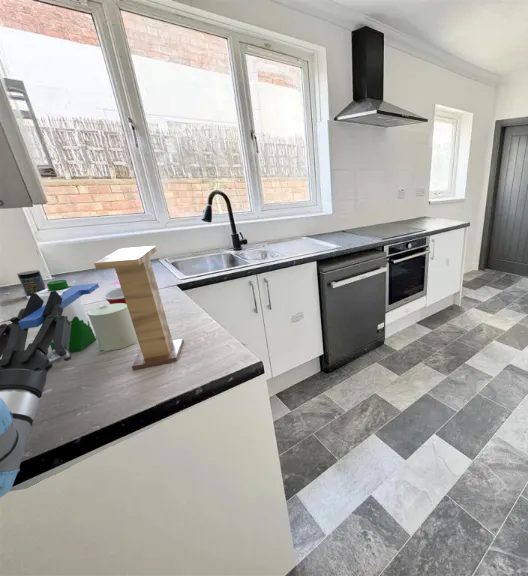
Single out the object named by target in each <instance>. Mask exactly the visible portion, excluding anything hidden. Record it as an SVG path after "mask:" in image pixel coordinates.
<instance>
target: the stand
mask: <svg viewBox="0 0 528 576" xmlns="http://www.w3.org/2000/svg"><path fill="white" fill-rule="evenodd" d="M156 252H157V246H156V245H150V246H149V245H148V246H147V245H146V246H136V247H135V246H134V247H123V248H118V249H117V250H115V251H113V252H111V253H109V254H107V255H106V256H103V257H102V258H100V259H99V260H97V261H95V262H94V263H93V264H94V267H95V270H105V269H113V268H114V269H115V272H116V273H117V276H118V277H117V279H119V282H120V286H119V287H121V289H122V292H123V295H124V298H125V301H126V304H127V308H128V311H129V314H130V317H131V320H132V323H133V326H134V330H135V333H136V336H137V339H138V340H137V342H138V345H139V348H140V351H139V353H138V355H137V357H136V358H135V360H134V362H133V363H132V365H131V369H132V371H136V370H141V369H146V368H151V367H156V366H161V365H164V364H170V363H176V362H178V359H179V357H180V354H181V351H182V348H183V345H184V343H185V342H184V341H185V340H184V338H179V339H173V336H172V334H171V331H170V325H169V323H168V318H167V316H166V311H165V308H164V304H163V301H162V298H161V297H162V296H161V295H160V290H159V287H158V282H157V280H156V276H155V272H154V268H153V265H152V261H151V257H152V256H153V255H154V254H155V253H156Z"/></svg>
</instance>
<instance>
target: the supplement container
mask: <svg viewBox="0 0 528 576" xmlns="http://www.w3.org/2000/svg"><path fill="white" fill-rule="evenodd" d="M16 275H17V278H18V280H19V282H20V285H21V287H22V289H23V291H24V293H25V296H26V297H28V296H31V294H33V293H37V292H40V291H42V290H45V289H48V287H47V285H46V284H45V281H44V279H43V277H42V273H41V271H40V270H39V269H36V270H26V271H22V272H19V273H16Z"/></svg>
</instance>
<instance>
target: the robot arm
mask: <svg viewBox="0 0 528 576" xmlns="http://www.w3.org/2000/svg"><path fill="white" fill-rule="evenodd" d="M62 300H63V299H62V298H61V296H60V295H59V294H58V293H57V292H56V291H51V293H50V295H49V298H48V301H47V303H46V306H45V309H44V311H43V314H42V315H43V316H44V317H45V318H46V319H45V321H44V322H43V324H41V325H40V328H39V330H38V332H37V333H36V335H35V337H34V338H33V340H32V341H31V343H28V345H27V347H26V344H27V340H28V335H29V329H30V328H27V329H21V327H20V325H19V323H18V322H19V321H20V320H22V319H23V318H25V317H27V316H28V315H30V314H32V313H33V312H35V311H36V310H38V309H40V308H41V307H42V305H43V303H44V301H43V300H42V299H41V298H40V297H39V296H38V295H37V294H36V293H33V294H31V296H30V298H29V300H28V301H27V303H26V305H25V307H24V308H21V309H20V310H19V311H18V314H17V316H13V317H11V318H10V319H9V322H10V323H2V324H0V499H1V498H3V497H4V496H6V495H7V494H9V492H10V491H11V489H12V488H13V485H14V483H15V480H16V477H17V475H18V473H19V472H20V470H21V468H20V466H21V462H22V460H23V456H24V452H25V449H26V446H27V442H28V439H29V436H30V433H31V430H32V426H33V423H34V420H35V417H36V415H37V410H38V407H39V405H40V401H41V400H40V399H41V398H42V395H43V393H44V389H45V387H46V384H47V375H48V373H49V371H50V370H51V369H52V368H53V366H54V364H57V363H58V362H60V361H64V362H68V361H70V360H71V359H72V357H73V356H72V354H71V352H69V351H68V350H69V341H70V331H71V323H70V321H69V320H68V319H67V318H66V317H65V316H62V313H63V308H62V307H61V303H62ZM53 338H54V343H53V347H54V350H52V349H51V354H50V356H49V357H48V354H49V348H50V347H51V346H50V344H51V342H52V340H53Z"/></svg>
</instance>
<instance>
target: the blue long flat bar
mask: <svg viewBox="0 0 528 576" xmlns="http://www.w3.org/2000/svg"><path fill="white" fill-rule="evenodd" d="M71 286H72V287H71V288H69V289H68V290H66V291H64V292H63V294H62V295H60V296H61V298H62V299H63V300H62V303H61V307H62V308H63V309H64V308H65V307H67V306H68V305H69V304H71V303H72V302H74V301H75V300H76V299H78V298H79V297H82V296H84V295H90V294H93V292H95V291H96V290H97V289H98V288H100V284H99V282H94V283H92V282H91V283H84V284H75V285H71ZM45 306H46V305H44V306H43V307H41V308H40V309H38V310H36V311H35V312H33V313H32V314H30V315H28V316H27V317H25V318H23V319H22V320H20V321H19V322H18V323H19V325H20V327H21V329H27V328H29V329H31V328H33V329H34V328H39V327H41V326H42V324H43V322H44V321H45V319H46V318H45V317H44V316H43V315H42V314H43V311H44V309H45Z"/></svg>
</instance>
